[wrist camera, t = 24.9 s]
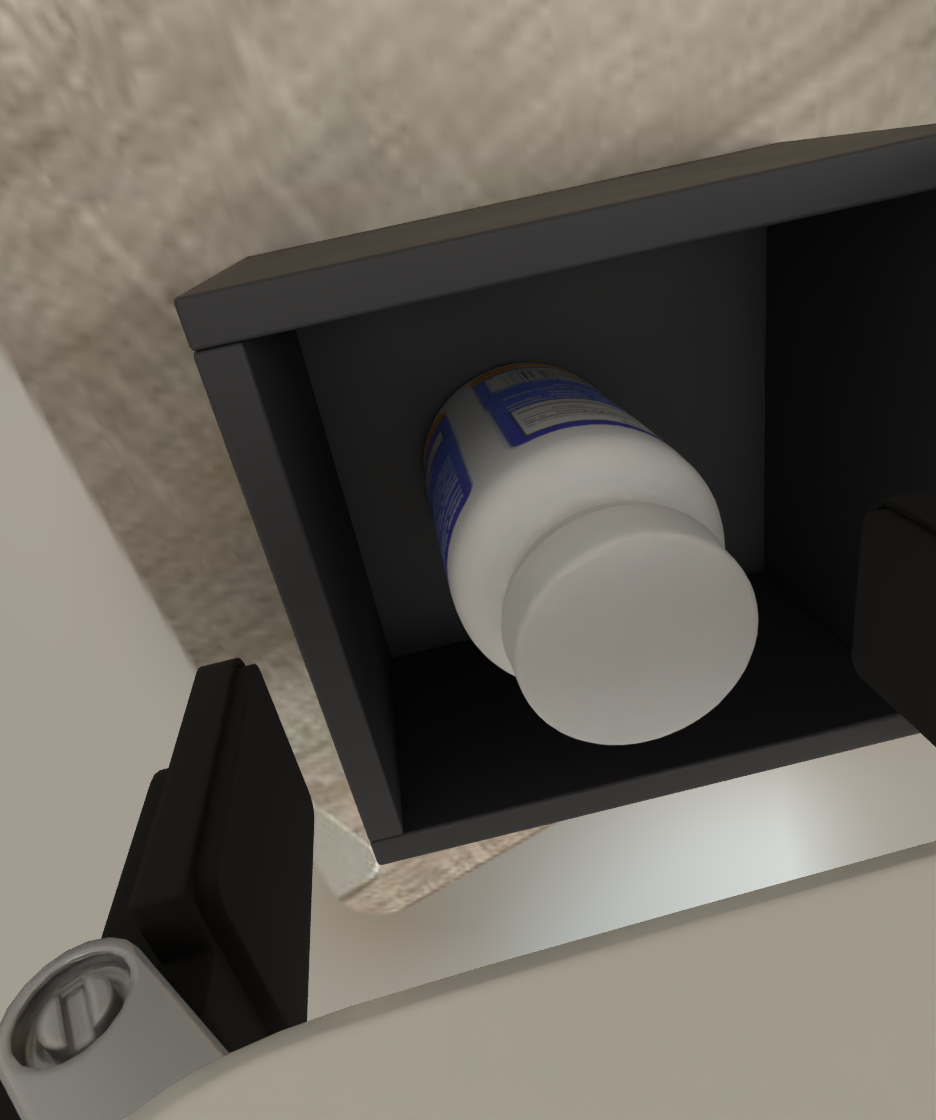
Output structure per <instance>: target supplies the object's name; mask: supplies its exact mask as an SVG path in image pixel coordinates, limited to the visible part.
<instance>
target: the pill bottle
mask: <svg viewBox="0 0 936 1120" xmlns="http://www.w3.org/2000/svg"><path fill="white" fill-rule="evenodd" d="M423 475H424V484H425V490H426V493H427V497H428V501H429V505H430V510H431V514H432V518H433V522H434V527H435V531H436V535H437V539H438V544H439V548H440V552H441V556H442V560H443V564H444V569H445V573H446V578H447V581H448V585H449V589H450V592H451V596H452V599H453V602H454V605H455V608H456V611H457V613H458V615H459V617H460V620H461V622H462V624H463V626H464V628H465V630H466V631H467V633H468V635H469V636H470V638H471V639H472V641H473V642H474V644H475V645H476V646H477V647H478V648H479V649H480V651H481V652H482V653H483V654H484V655H485V656H486V657H487V658H489V659H490V660H491V661H492V662H493V663H495V664H496V665H497V666H498V667H500V668H501V669H503V670H504V671H506V672H508V673H510V674H511V675H513V676H515V677H516V679H517V681H518V684H519V686H520V688H521V691H522V693H523V695H524V696H525V698H526V700H527V702H528V703H529V705H530V706H531V707H532V708H533V710H534V711H535V712H536V713H537V714H538V716H539V717H541V718H542V719H543V720H544V721H545V722H546V723H547V724H549V725H550V726H552V727H553V728H555V729H557V730H558V731H559V732H561V733H563V734H566V735H568V736H570V737H573V738H575V739H579V740H582V741H586V742H591V743H596V744H603V745H627V744H636V743H641V742H646V741H650V740H654V739H658V738H661V737H664V736H666V735H669V734H671V733H673V732H676V731H678V730H681V729H683V728H685V727H686V726H688V725H690V724H692V723H694V722H695V721H697V720H698V719H700V718H701V717H703V716H704V715H705V714H707V713H708V712H709V711H711V710H712V709H713V708H714V707H715V706H717V705H718V704H719V703H720V702H721V701H722V700H723V698H724V697H725V696H726V695H727V694H728V693H729V692H730V691H731V690H732V688H733V687H734V686H735V684H736V683H737V681H738V680H739V679H740V677H741V676H742V674H743V672H744V671H745V669H746V667H747V665H748V663H749V660H750V657H751V655H752V652H753V649H754V646H755V643H756V637H757V635H758V631H757V629H758V609H757V603H756V598H755V594H754V591H753V588H752V586H751V583H750V581H749V580H748V578H747V576H746V574H745V572H744V571H743V569H742V568H741V567H740V565H739V564H738V563H737V561H736V560H735V559H734V558H733V557H732V556H731V555H730V554H729V553H728V552H727V551H726V550H725V541H724V532H723V526H722V522H721V517H720V514H719V510H718V507H717V504H716V501H715V499H714V497H713V495H712V493H711V491H710V489H709V487H708V486H707V484H706V483H705V481H704V480H703V479H702V477H701V476H700V474H699V473H698V472H697V471H696V470H695V469H694V467H693V466H692V465H690V464H689V463H688V462H687V461H686V460H685V459H684V458H683V457H682V456H681V455H680V454H678V453H677V452H676V451H675V450H674V449H673V448H671V447H670V446H669V445H668V444H667V443H665V442H664V441H663V440H662V439H661V438H659V437H658V436H656V435H655V434H654V433H653V432H651V431H650V430H649V429H648V428H646V427H645V426H644V425H643V424H641V423H640V422H639V421H638V420H636V419H635V418H633V417H632V416H631V415H630V414H628V413H627V412H626V411H624V410H623V409H622V408H620V407H619V406H618V405H617V404H616V403H614V402H613V401H611V400H610V399H609V398H608V397H606V396H605V395H604V394H603V393H601V392H600V391H599V390H597V389H596V388H594V387H593V386H592V385H590V384H589V383H587V382H586V381H585V380H583V379H582V378H580V377H579V376H577V375H575V374H573V373H571V372H569V371H567V370H565V369H563V368H560V367H557V366H553V365H548V364H543V363H533V362H530V363H514V364H508V365H504V366H500V367H497V368H494V369H492V370H489V371H487V372H484V373H482V374H481V375H479V376H477V377H475V378H473V379H472V380H470V381H469V382H467V383H466V384H464V385H463V386H462V387H461V388H459V389H458V390H457V391H456V392H455V393H454V394H453V395H452V396H451V397H450V398H449V399H448V400H447V402H446V403H445V404H444V405H443V407H442V408H441V409H440V411H439V412H438V414H437V416H436V417H435V419H434V421H433V423H432V426H431V428H430V430H429V433H428V436H427V440H426V444H425V449H424V458H423Z"/></svg>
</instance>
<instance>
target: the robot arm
mask: <svg viewBox="0 0 936 1120" xmlns="http://www.w3.org/2000/svg"><path fill="white" fill-rule="evenodd" d="M852 661H853V665H854V667H855V670H856V671H857V673H858V675H859V676H860V677H861V678H862V679H863V680H864V681H865V682H866V683H867V684H868V685H869V686H870V687H871V688H873V689H874V690H875V691H876V692H877V693H878V694H879V695H880V696H881V697H882V698H883V699H884V700H886V701H887V702H888V703H889V704H890V705H891V706H892V707H893V708H894V709H895V710H896V711H897V712H899V713H900V714H901V715H902V716H903V717H904V718H905V719H906V720H907V721H908V722H909V723H910V724H911V725H913V726H914V727H915V728H916V729H917V730H918V731H919V732H920V733H921V734H922V735H923V736H924V737H926V738H927V739H928V740H929V741H930V742H931V743H932V744H933V745H934V746H935V747H936V499H935V498H933V497H931V496H929V495H927V494H925V493H922V492H918V491H917V492H910V493H906V494H902V495H898V496H894V497H890V498H886V499H882V500H879V501H877V502H876V503H875V504H874V505H873V507H872V509H871V512H869V513H868V514H866V516H865V517H864V520H863V525H862V536H861V548H860V560H859V572H858V584H857V595H856V607H855V619H854V631H853V642H852ZM313 842H314V810H313V804H312V800H311V796H310V794H309V791H308V788H307V786H306V783H305V781H304V778H303V776H302V773H301V771H300V769H299V766H298V764H297V761H296V759H295V756H294V754H293V751H292V749H291V746H290V744H289V741H288V739H287V736H286V734H285V731H284V729H283V726H282V724H281V721H280V719H279V716H278V714H277V711H276V709H275V706H274V704H273V701H272V699H271V696H270V694H269V691H268V689H267V686H266V684H265V681H264V679H263V676H262V674H261V672H260V670H259V668H258V666H257V665H256V664H252V665H248V666H245V664H244V662H243V661H242V660H241V659H240V658H235V659H231V660H227V661H223V662H219V663H215V664H210V665H206V666H202V667H200V668H199V669H198V671H197V673H196V676H195V680H194V683H193V686H192V690H191V693H190V697H189V700H188V704H187V708H186V710H185V714H184V717H183V721H182V724H181V727H180V731H179V734H178V738H177V741H176V744H175V748H174V751H173V755H172V758H171V762H170V765H169V768H167V769H163V770H160V771H158V772H157V773H156V774H155V775H154V777H153V779H152V781H151V783H150V786H149V789H148V792H147V796H146V799H145V802H144V805H143V808H142V811H141V814H140V818H139V821H138V824H137V827H136V830H135V833H134V837H133V840H132V843H131V846H130V849H129V852H128V856H127V859H126V862H125V865H124V868H123V871H122V874H121V878H120V881H119V885H118V887H117V890H116V894H115V897H114V900H113V903H112V906H111V909H110V912H109V915H108V919H107V922H106V925H105V928H104V931H103V934H102V938H101V939H97V940H92V941H88V942H86V943H83V944H81V945H79V946H77V947H74V948H72V949H70V950H68V951H66V952H64V953H63V954H62V955H60V956H59V957H57V958H56V959H54V960H53V961H51V962H50V963H48V964H47V965H46V966H44V967H43V968H42V969H41V970H40V971H39V972H38V973H37V974H36V975H35V976H34V977H33V978H32V979H31V980H30V981H29V982H28V983H26V985H24V987H23V988H22V989H21V991H20V992H19V993H18V995H17V996H16V998H15V999H14V1000H13V1001H12V1003H11V1004H10V1006H9V1007H8V1008H7V1011H6V1013H5V1015H4V1017H3V1019H2V1021H1V1023H0V1120H936V841H934V842H930V843H927V844H923V845H919V846H916V847H912V848H908V849H905V850H901V851H897V852H894V853H890V854H886V855H883V856H879V857H876V858H872V859H869V860H865V861H861V862H857V863H854V864H850V865H846V866H843V867H839V868H835V869H832V870H828V871H824V872H821V873H817V874H813V875H810V876H806V877H802V878H799V879H795V880H792V881H788V882H785V883H781V884H777V885H774V886H770V887H766V888H763V889H759V890H756V891H752V892H748V893H744V894H741V895H737V896H734V897H730V898H726V899H723V900H719V901H716V902H712V903H708V904H705V905H701V906H698V907H694V908H690V909H687V910H683V911H679V912H676V913H672V914H669V915H665V916H662V917H658V918H654V919H651V920H648V921H644V922H640V923H637V924H634V925H630V926H626V927H623V928H619V929H615V930H612V931H608V932H605V933H602V934H598V935H594V936H590V937H587V938H583V939H580V940H576V941H573V942H569V943H566V944H562V945H559V946H555V947H551V948H548V949H544V950H541V951H538V952H534V953H530V954H527V955H523V956H520V957H516V958H513V959H509V960H505V961H502V962H498V963H495V964H491V965H487V966H484V967H480V968H478V969H474V970H470V971H467V972H464V973H460V974H457V975H454V976H450V977H447V978H444V979H440V980H437V981H434V982H430V983H427V984H424V985H420V986H417V987H414V988H410V989H408V990H404V991H401V992H397V993H394V994H390V995H387V996H384V997H380V998H377V999H374V1000H370V1001H367V1002H364V1003H361V1004H357V1005H354V1006H351V1007H347V1008H345V1009H342V1010H339V1011H336V1012H333V1013H330V1014H327V1015H325V1016H322V1017H319V1018H316V1019H313V1020H310V1021H308V1022H307V1005H308V977H309V951H310V950H309V949H310V923H311V895H312V869H313V868H312V867H313Z"/></svg>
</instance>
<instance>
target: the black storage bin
mask: <svg viewBox="0 0 936 1120" xmlns="http://www.w3.org/2000/svg"><path fill="white" fill-rule="evenodd" d="M174 305H175V308H176V310H177V313H178V316H179V319H180V321H181V324H182V327H183V330H184V332H185V335H186V338H187V341H188V343H189V346H190V348H191V349H192V350H193V351H196V352H195V353H194V359H195V362H196V365H197V368H198V370H199V373H200V376H201V379H202V381H203V384H204V387H205V390H206V392H207V395H208V398H209V401H210V403H211V406H212V409H213V412H214V414H215V417H216V420H217V423H218V425H219V428H220V431H221V434H222V437H223V439H224V442H225V445H226V448H227V450H228V453H229V456H230V459H231V461H232V464H233V467H234V470H235V472H236V475H237V478H238V481H239V483H240V486H241V489H242V492H243V494H244V497H245V500H246V503H247V505H248V508H249V511H250V514H251V516H252V519H253V522H254V525H255V527H256V530H257V533H258V536H259V538H260V541H261V544H262V547H263V549H264V552H265V555H266V558H267V560H268V563H269V566H270V569H271V571H272V574H273V577H274V580H275V582H276V585H277V588H278V591H279V593H280V596H281V599H282V602H283V604H284V607H285V610H286V613H287V615H288V618H289V621H290V624H291V627H292V629H293V632H294V635H295V638H296V640H297V643H298V646H299V649H300V651H301V654H302V657H303V660H304V662H305V665H306V668H307V671H308V673H309V676H310V679H311V682H312V684H313V687H314V690H315V693H316V695H317V698H318V701H319V704H320V706H321V709H322V712H323V715H324V717H325V720H326V723H327V726H328V728H329V731H330V734H331V737H332V739H333V742H334V745H335V748H336V750H337V753H338V756H339V759H340V761H341V764H342V767H343V770H344V772H345V775H346V778H347V781H348V783H349V786H350V789H351V792H352V794H353V797H354V800H355V803H356V805H357V808H358V811H359V814H360V816H361V819H362V822H363V825H364V828H365V830H366V833H367V836H368V838H369V840H370V844H371V846H372V849H373V852H374V855H375V857H376V860H377V862H378V864H379V865H384V864H388V863H392V862H396V861H400V860H404V859H408V858H412V857H416V856H420V855H424V854H428V853H432V852H437V851H441V850H445V849H449V848H453V847H457V846H461V845H465V844H469V843H473V842H477V841H481V840H485V839H490V838H494V837H498V836H502V835H506V834H510V833H514V832H518V831H522V830H526V829H530V828H534V827H538V826H543V825H547V824H551V823H555V822H559V821H563V820H567V819H571V818H575V817H579V816H583V815H587V814H591V813H595V812H599V811H604V810H608V809H612V808H616V807H620V806H624V805H628V804H632V803H636V802H640V801H644V800H649V799H653V798H656V797H661V796H665V795H668V794H673V793H677V792H681V791H685V790H689V789H693V788H698V787H702V786H706V785H710V784H714V783H718V782H722V781H726V780H730V779H734V778H738V777H742V776H747V775H751V774H755V773H759V772H763V771H767V770H771V769H775V768H779V767H783V766H787V765H791V764H795V763H799V762H804V761H808V760H812V759H816V758H820V757H824V756H828V755H832V754H836V753H840V752H844V751H848V750H853V749H857V748H860V747H864V746H869V745H873V744H877V743H881V742H885V741H889V740H893V739H897V738H901V737H905V736H909V735H914V734H918V733H920V732H919V731H918V730H917V729H916V728H915V727H914V726H913V725H911V724H910V723H909V722H908V721H907V720H906V719H905V718H904V717H903V716H902V715H901V714H900V713H899V712H897V711H896V710H895V709H894V708H893V707H892V706H891V705H890V704H889V703H888V702H887V701H886V700H884V699H883V698H882V697H881V696H880V695H879V694H878V693H877V692H876V691H875V690H874V689H873V688H871V687H870V686H869V685H868V684H867V683H866V682H865V681H864V680H863V679H862V678H861V677H860V676H859V675H858V673H857V671H856V670H855V667H854V665H853V661H852V642H853V631H854V619H855V607H856V595H857V584H858V572H859V560H860V548H861V536H862V525H863V520H864V517H865V516H866V514H868V513H869V512H871V509H872V507H873V505H874V504H875V503H876V502H877V501H879V500H882V499H886V498H890V497H894V496H898V495H902V494H906V493H910V492H917V491H918V492H922V493H925V494H927V495H929V496H931V497H933V498H935V499H936V124H929V125H920V126H912V127H904V128H895V129H887V130H879V131H871V132H862V133H854V134H846V135H837V136H829V137H821V138H813V139H804V140H797V141H788V142H780V143H775V144H770V145H766V146H761V147H756V148H752V149H747V150H742V151H738V152H733V153H729V154H724V155H719V156H715V157H710V158H705V159H701V160H696V161H691V162H687V163H682V164H677V165H673V166H668V167H663V168H659V169H654V170H649V171H645V172H640V173H636V174H631V175H626V176H622V177H617V178H612V179H608V180H603V181H598V182H594V183H589V184H584V185H580V186H575V187H570V188H566V189H561V190H556V191H552V192H547V193H543V194H538V195H533V196H529V197H524V198H519V199H515V200H510V201H505V202H501V203H496V204H491V205H487V206H482V207H477V208H473V209H468V210H463V211H459V212H454V213H449V214H445V215H440V216H436V217H431V218H426V219H422V220H417V221H412V222H408V223H403V224H398V225H394V226H389V227H384V228H380V229H375V230H370V231H366V232H361V233H356V234H352V235H347V236H343V237H338V238H333V239H329V240H324V241H319V242H315V243H310V244H305V245H301V246H296V247H291V248H287V249H282V250H277V251H273V252H268V253H263V254H259V255H254V256H249V257H246V258H244V259H243V260H241V261H239V262H238V263H236V264H234V265H232V266H231V267H229V268H227V269H225V270H224V271H222V272H220V273H218V274H217V275H215V276H213V277H211V278H210V279H208V280H206V281H205V282H203V283H201V284H199V285H198V286H196V287H194V288H192V289H191V290H189V291H187V292H185V293H184V294H182V295H180V296H178V297H177V298H175V299H174ZM530 362H533V363H543V364H548V365H553V366H557V367H560V368H563V369H565V370H567V371H569V372H571V373H573V374H575V375H577V376H579V377H580V378H582V379H583V380H585V381H586V382H587V383H589V384H590V385H592V386H593V387H594V388H596V389H597V390H599V391H600V392H601V393H603V394H604V395H605V396H606V397H608V398H609V399H610V400H611V401H613V402H614V403H616V404H617V405H618V406H619V407H620V408H622V409H623V410H624V411H626V412H627V413H628V414H630V415H631V416H632V417H633V418H635V419H636V420H638V421H639V422H640V423H641V424H643V425H644V426H645V427H646V428H648V429H649V430H650V431H651V432H653V433H654V434H655V435H656V436H658V437H659V438H661V439H662V440H663V441H664V442H665V443H667V444H668V445H669V446H670V447H671V448H673V449H674V450H675V451H676V452H677V453H678V454H680V455H681V456H682V457H683V458H684V459H685V460H686V461H687V462H688V463H689V464H690V465H692V466H693V467H694V469H695V470H696V471H697V472H698V473H699V474H700V476H701V477H702V479H703V480H704V481H705V483H706V484H707V486H708V487H709V489H710V491H711V493H712V495H713V497H714V499H715V501H716V504H717V507H718V510H719V514H720V517H721V522H722V526H723V532H724V541H725V550H726V551H727V552H728V553H729V554H730V555H731V556H732V557H733V558H734V559H735V560H736V561H737V563H738V564H739V565H740V567H741V568H742V569H743V571H744V572H745V574H746V576H747V578H748V580H749V581H750V583H751V586H752V588H753V591H754V594H755V598H756V603H757V609H758V629H757V631H758V635H757V637H756V643H755V646H754V649H753V652H752V655H751V657H750V660H749V663H748V665H747V667H746V669H745V671H744V672H743V674H742V676H741V677H740V679H739V680H738V681H737V683H736V684H735V686H734V687H733V688H732V690H731V691H730V692H729V693H728V694H727V695H726V696H725V697H724V698H723V700H722V701H721V702H720V703H719V704H718V705H717V706H715V707H714V708H713V709H712V710H711V711H709V712H708V713H707V714H705V715H704V716H703V717H701V718H700V719H698V720H697V721H695V722H694V723H692V724H690V725H688V726H686V727H685V728H683V729H681V730H678V731H676V732H673V733H671V734H669V735H666V736H664V737H661V738H658V739H654V740H650V741H646V742H641V743H636V744H627V745H603V744H596V743H591V742H586V741H582V740H579V739H575V738H573V737H570V736H568V735H566V734H563V733H561V732H559V731H558V730H557V729H555V728H553V727H552V726H550V725H549V724H547V723H546V722H545V721H544V720H543V719H542V718H541V717H539V716H538V714H537V713H536V712H535V711H534V710H533V708H532V707H531V706H530V705H529V703H528V702H527V700H526V698H525V696H524V695H523V693H522V691H521V688H520V686H519V684H518V681H517V679H516V677H515V676H513V675H511V674H510V673H508V672H506V671H504V670H503V669H501V668H500V667H498V666H497V665H496V664H495V663H493V662H492V661H491V660H490V659H489V658H487V657H486V656H485V655H484V654H483V653H482V652H481V651H480V649H479V648H478V647H477V646H476V645H475V644H474V642H473V641H472V639H471V638H470V636H469V635H468V633H467V631H466V630H465V628H464V626H463V624H462V622H461V620H460V617H459V615H458V613H457V611H456V608H455V605H454V602H453V599H452V596H451V592H450V589H449V585H448V581H447V578H446V573H445V569H444V564H443V560H442V556H441V552H440V548H439V544H438V539H437V535H436V531H435V527H434V522H433V518H432V514H431V510H430V505H429V501H428V497H427V493H426V490H425V484H424V475H423V458H424V449H425V444H426V440H427V436H428V433H429V430H430V428H431V426H432V423H433V421H434V419H435V417H436V416H437V414H438V412H439V411H440V409H441V408H442V407H443V405H444V404H445V403H446V402H447V400H448V399H449V398H450V397H451V396H452V395H453V394H454V393H455V392H456V391H457V390H458V389H459V388H461V387H462V386H463V385H464V384H466V383H467V382H469V381H470V380H472V379H473V378H475V377H477V376H479V375H481V374H482V373H484V372H487V371H489V370H492V369H494V368H497V367H500V366H504V365H508V364H514V363H530Z"/></svg>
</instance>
